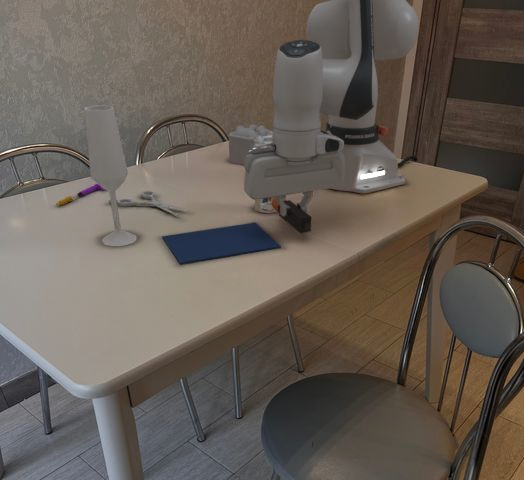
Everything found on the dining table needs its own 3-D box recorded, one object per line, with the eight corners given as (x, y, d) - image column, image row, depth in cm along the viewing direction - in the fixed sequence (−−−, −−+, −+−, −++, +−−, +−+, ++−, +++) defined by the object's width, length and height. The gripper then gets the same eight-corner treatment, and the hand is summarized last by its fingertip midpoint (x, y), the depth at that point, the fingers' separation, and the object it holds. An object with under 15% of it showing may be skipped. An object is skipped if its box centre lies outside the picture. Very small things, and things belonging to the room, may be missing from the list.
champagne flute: (137, 244, 103) (118, 111, 89) (101, 247, 102) (77, 112, 88) (136, 231, 108) (119, 103, 95) (102, 233, 107) (80, 104, 93)
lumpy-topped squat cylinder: (224, 161, 150) (223, 129, 146) (247, 151, 160) (247, 120, 155) (256, 167, 146) (256, 133, 141) (278, 156, 156) (279, 124, 151)
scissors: (143, 188, 128) (204, 206, 118) (143, 191, 128) (205, 209, 118) (108, 200, 121) (170, 220, 111) (108, 203, 121) (170, 223, 111)
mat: (255, 224, 112) (255, 222, 112) (280, 247, 102) (281, 245, 102) (162, 238, 106) (162, 236, 106) (180, 264, 96) (179, 262, 96)
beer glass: (245, 207, 120) (245, 138, 112) (269, 201, 124) (270, 133, 115) (265, 216, 116) (266, 144, 107) (289, 209, 119) (291, 139, 111)
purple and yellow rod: (101, 185, 131) (55, 206, 120) (101, 180, 131) (55, 201, 119) (110, 189, 131) (64, 210, 119) (110, 184, 130) (64, 205, 118)
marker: (271, 210, 113) (271, 197, 111) (284, 208, 114) (284, 195, 112) (300, 235, 103) (301, 220, 101) (314, 233, 104) (315, 218, 102)
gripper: (250, 152, 93) (251, 227, 101) (351, 140, 100) (345, 211, 108) (237, 144, 98) (239, 215, 106) (335, 133, 105) (330, 201, 113)
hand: (293, 213), depth 107 cm, fingers closed on marker, 2 cm apart
